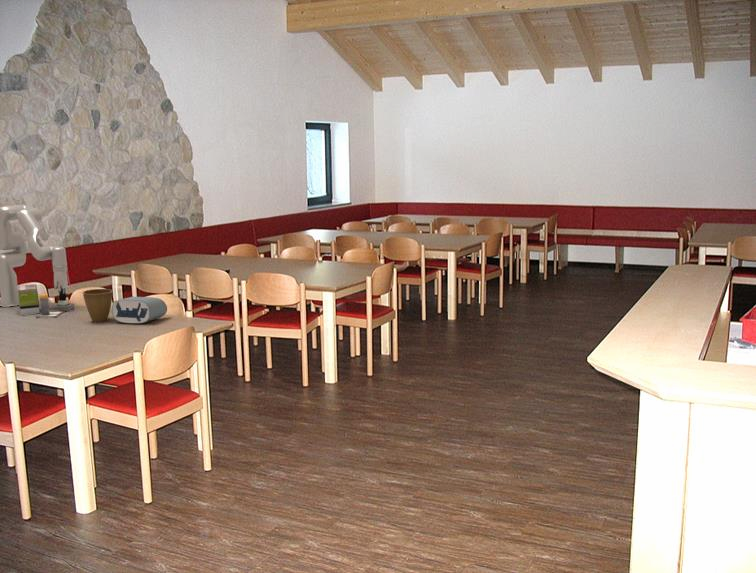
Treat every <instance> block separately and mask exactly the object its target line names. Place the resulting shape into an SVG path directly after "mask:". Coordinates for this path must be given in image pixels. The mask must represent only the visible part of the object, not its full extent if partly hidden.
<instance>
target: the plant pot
mask: <svg viewBox="0 0 756 573" xmlns="http://www.w3.org/2000/svg"><path fill="white" fill-rule="evenodd" d="M82 294H83V299H84V304H85V306H86V309H87V312H88V314H89V317H90V318H91V320H92V322H94V323H100V322H102V321H103V322H107V321H108V318H109V314H110V312H111V309H112V302H113V301H112V300H113V289H109V288H94V289H88V290H84V291H83V292H82Z"/></svg>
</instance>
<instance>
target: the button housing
mask: <svg viewBox="0 0 756 573" xmlns="http://www.w3.org/2000/svg"><path fill="white" fill-rule="evenodd" d="M73 308H74V309H75V303H74V302H71V303H69V302H68V306H59V304H58V303H57V304H55V305H53V306H52V310H59V311H67V312H71V311H72V310H73ZM71 309H72V310H71ZM70 310H71V311H70Z"/></svg>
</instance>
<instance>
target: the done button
mask: <svg viewBox="0 0 756 573" xmlns="http://www.w3.org/2000/svg"><path fill="white" fill-rule="evenodd" d="M68 303H69V302H68V299H66V300H65V301H60V299H59V300H58V301H57V304H59V306H68Z"/></svg>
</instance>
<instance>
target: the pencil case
mask: <svg viewBox="0 0 756 573" xmlns="http://www.w3.org/2000/svg"><path fill="white" fill-rule="evenodd" d="M167 312H168V305H167V304H166V302H165V301H164V300H163V299H161V298H159V297H152V296H130V297H126V298H125V297H124V298H121V299H118V300H115V301H114V302H113V304H112V305H111V314H112V318H113V319H114V320H115V321H117V322H119V323H124V324H143V323H146V322H151V321H154V320H153V319H155V320H157V318H158V319H160V318H162V317H164V316H165V315H166V314H167Z"/></svg>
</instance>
